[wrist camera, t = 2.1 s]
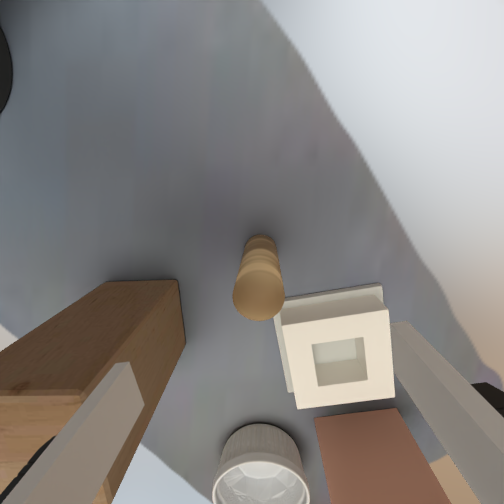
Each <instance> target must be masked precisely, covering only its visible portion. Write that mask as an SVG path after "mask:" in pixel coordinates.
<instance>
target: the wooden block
mask: <svg viewBox="0 0 504 504" xmlns="http://www.w3.org/2000/svg"><path fill="white" fill-rule="evenodd" d="M185 344H186V343H185V335H184V328H183V320H182V312H181V304H180V297H179V289H178V282H177V280H149V281H118V282H105V283H103V284H102V285H100V286H99V287H97V288H96V289H94V290H93V291H91V292H90V293H88V294H87V295H85V296H84V297H82V298H80V299H79V300H77V301H76V302H74V303H73V304H71V305H70V306H68V307H67V308H65V309H64V310H62V311H61V312H59V313H58V314H56V315H55V316H53V317H52V318H50V319H49V320H47V321H46V322H44V323H43V324H41V325H40V326H38V327H37V328H35V329H34V330H32V331H31V332H29V333H28V334H26V335H25V336H23V337H22V338H20V339H19V340H17V341H16V342H14V343H13V344H11V345H10V346H8V347H7V348H5V349H4V350H2V351H1V352H0V494H1V493H2V492H3V491H4V490H5V488H6V487H7V486H8V485H9V484H10V482H11V481H12V480H13V479H14V478H15V477H17V475H18V473H19V472H20V471H21V469H22V468H23V467H24V466H25V465H27V462H28V461H29V460H30V459H31V457H32V456H33V455H34V454H35V453H36V452H37V450H38V449H39V448H40V447H41V446H43V445H44V444H45V443H46V442H47V441H48V440H50V439H51V438H52V437H53V436H57V435H58V433H59V432H60V431H61V430H62V428H63V427H64V426H65V425H66V424H67V422H68V421H69V420H70V419H71V417H72V416H73V415H74V414H75V413H76V411H77V410H78V409H79V408H80V406H81V405H82V404H83V403H84V401H85V400H86V399H87V398H88V397H89V395H90V394H91V393H92V392H93V390H94V389H95V388H96V387H97V386H98V384H99V383H100V382H101V381H102V379H103V378H104V377H105V376H106V374H107V373H108V372H109V371H110V370H111V368H112V367H113V366H114V365H115V363H122V362H130V365H131V368H132V371H133V373H134V376H135V379H136V382H137V385H138V388H139V390H140V393H141V396H142V399H143V402H144V404H145V405H144V407H143V409H142V411H141V413H140V415H139V416H138V418H137V420H136V422H135V424H134V426H133V428H132V429H131V431H130V433H129V435H128V437H127V439H126V441H125V443H124V444H123V446H122V448H121V450H120V452H119V454H118V456H117V457H116V459H115V461H114V463H113V465H112V467H111V469H110V471H109V472H108V474H107V476H106V478H105V480H104V482H103V484H102V485H101V487H100V489H99V491H98V493H97V495H96V497H95V499H94V500H93V502H92V504H111V503H112V501H113V499H114V497H115V495H116V492H117V490H118V488H119V486H120V484H121V482H122V480H123V477H124V475H125V473H126V471H127V469H128V467H129V465H130V462H131V460H132V458H133V456H134V454H135V451H136V450H137V447H138V445H139V443H140V441H141V439H142V437H143V435H144V432H145V430H146V428H147V426H148V424H149V422H150V420H151V417H152V415H153V413H154V411H155V409H156V407H157V405H158V402H159V400H160V398H161V396H162V394H163V392H164V390H165V387H166V385H167V383H168V381H169V379H170V377H171V375H172V372H173V370H174V368H175V366H176V364H177V362H178V360H179V357H180V355H181V353H182V351H183V349H184V347H185Z"/></svg>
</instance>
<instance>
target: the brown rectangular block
mask: <svg viewBox="0 0 504 504" xmlns="http://www.w3.org/2000/svg"><path fill="white" fill-rule="evenodd" d="M314 421H315V427H316V432H317V437H318V442H319V447H320V451H321V456H322V461H323V466H324V471H325V476H326V481H327V485H328V490H329V495H330V500H331V504H451V502H450V501H449V499H448V497H447V496H446V494H445V492H444V490H443V488H442V487H441V485H440V483H439V481H438V480H437V478H436V476H435V474H434V473H433V471H432V469H431V467H430V466H429V464H428V462H427V461H426V459H425V457H424V455H423V454H422V452H421V450H420V448H419V447H418V445H417V443H416V441H415V440H414V438H413V436H412V434H411V433H410V431H409V429H408V427H407V426H406V424H405V422H404V420H403V419H402V417H401V415H400V413H399V412H398V410H397V408H392V409H383V410H375V411H367V412H359V413H350V414H342V415H334V416H326V417H317V418H314Z"/></svg>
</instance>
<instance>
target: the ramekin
mask: <svg viewBox="0 0 504 504" xmlns="http://www.w3.org/2000/svg"><path fill="white" fill-rule="evenodd" d="M212 499H213V503H214V504H309V502H310V493H309V485H308V481H307V478H306V476H305V474H304V470H303V466H302V462H301V458H300V454H299V451H298V448H297V446H296V444H295V443H294V441H293V439H292V438H291V437H290V436H289V435H288V434H287V433H285V432H284V431H283V430H281V429H280V428H278V427H275V426H272V425H269V424H252V425H248V426H245V427H242V428H241V429H239V430H238V431H236V432H235V433H234V434H233V435H231V437H230V438H229V439H228V441H227V442H226V444H225V447H224V449H223V452H222V456H221V459H220V463H219V467H218V471H217V473H216V475H215V478H214V482H213V489H212Z"/></svg>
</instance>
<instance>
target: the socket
mask: <svg viewBox="0 0 504 504" xmlns="http://www.w3.org/2000/svg"><path fill="white" fill-rule="evenodd" d="M273 318H274V323H275V328H276V333H277V338H278V344H279V349H280V354H281V359H282V364H283V369H284V374H285V379H286V384H287V389H288V393H290V392H294V394H295V399H296V404H297V409H305V408H313V407H321V406H329V405H337V404H345V403H353V402H361V401H369V400H377V399H385V398H393V397H395V389H394V376H393V363H392V350H391V337H390V324H389V311H388V308H387V307H386V306H385V305H384V304H383V292H382V285H381V284H379V283H375V284H368V285H362V286H356V287H350V288H344V289H338V290H332V291H325V292H319V293H313V294H307V295H301V296H295V297H289V298H285V301H284V304H283V307H282V309H281V310H280V312H279V313H278V314H277V315H275V316H274V317H273Z"/></svg>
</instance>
